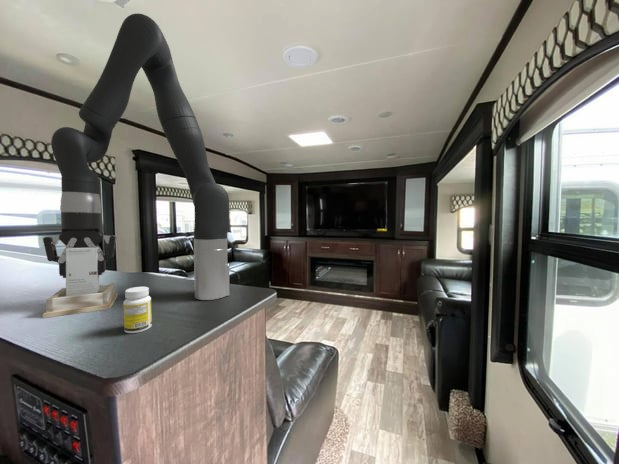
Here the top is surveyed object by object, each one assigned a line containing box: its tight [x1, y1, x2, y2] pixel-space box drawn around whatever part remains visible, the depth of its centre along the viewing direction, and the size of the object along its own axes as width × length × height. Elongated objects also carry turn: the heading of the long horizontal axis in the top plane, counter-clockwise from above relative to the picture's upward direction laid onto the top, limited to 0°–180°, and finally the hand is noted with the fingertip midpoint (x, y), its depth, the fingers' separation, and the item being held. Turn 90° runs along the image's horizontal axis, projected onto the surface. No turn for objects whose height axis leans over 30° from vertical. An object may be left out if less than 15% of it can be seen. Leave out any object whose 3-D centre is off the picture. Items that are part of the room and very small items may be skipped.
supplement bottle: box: [122, 286, 153, 334], centre depth 51 cm, size 5×5×8 cm
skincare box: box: [65, 246, 100, 297], centre depth 63 cm, size 6×4×12 cm
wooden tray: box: [42, 282, 118, 319], centre depth 64 cm, size 12×12×4 cm
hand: (83, 275), depth 63 cm, fingers closed on skincare box, 6 cm apart
